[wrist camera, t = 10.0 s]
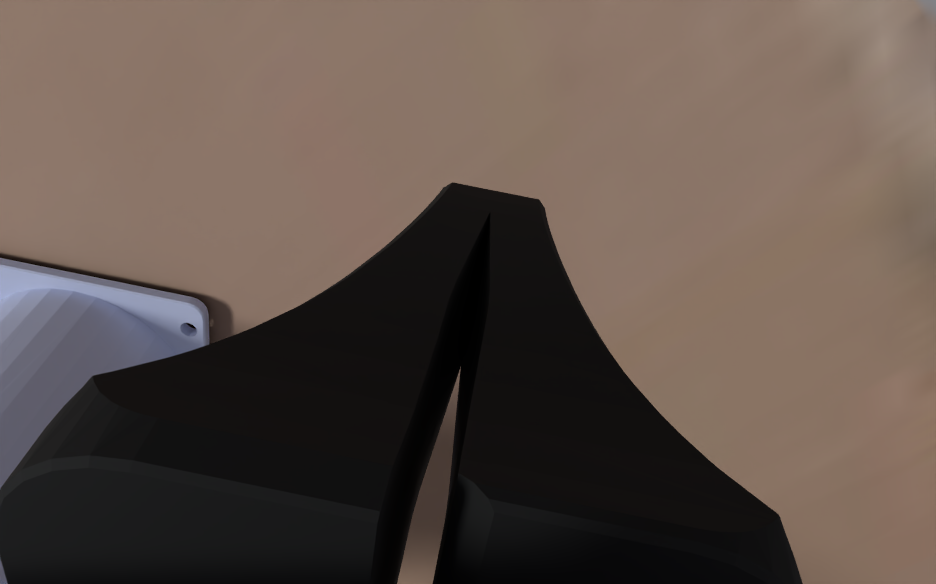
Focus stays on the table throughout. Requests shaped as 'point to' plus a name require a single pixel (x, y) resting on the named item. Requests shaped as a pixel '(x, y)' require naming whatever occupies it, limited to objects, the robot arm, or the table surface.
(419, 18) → the table surface
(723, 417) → the table surface
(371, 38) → the table surface
